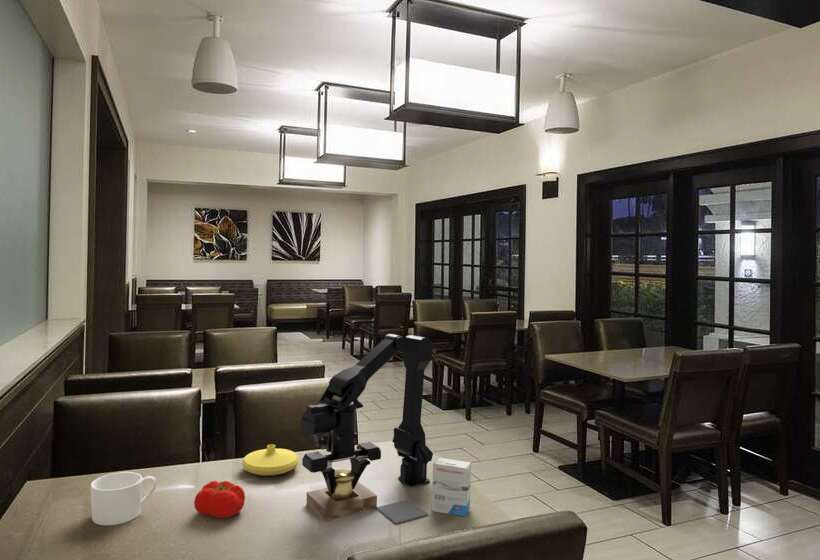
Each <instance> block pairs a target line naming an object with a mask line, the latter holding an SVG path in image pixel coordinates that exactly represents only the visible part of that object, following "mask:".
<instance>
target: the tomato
mask: <svg viewBox="0 0 820 560" xmlns="http://www.w3.org/2000/svg"><path fill="white" fill-rule="evenodd" d="M245 500H246V492H245V491H244V489H243V487H241V486H240V485H238V484H237V483H232V482H231V481H228V480H224V481H220V482H219V481H217V480H211V481H209V482H207V483H206V484H205V485H203V486H202V488H201V490H200V491H198V492H197V494H196V495H195V496H194V502H193V505H194V509H195V510H196V512H197V513H198V514H200V515H203V516H206V517H207V516H208V517H215V518H218V519H227V518H230V517H233V516H235V515H238V514H239V513H240V511H242V509H243V507H244V505H245Z"/></svg>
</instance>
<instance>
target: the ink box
mask: <svg viewBox="0 0 820 560" xmlns="http://www.w3.org/2000/svg"><path fill="white" fill-rule="evenodd" d="M432 467H433V468H432V490H431V498H432V499H431V511H432V512H435V513H441V514H442V513H443V514H446V515H447V514H448V515H451V516H452V515H453V516H458V517H464V518H465V517H467V516H468V514H469V511H470V508H471V507H470V505H471V482H472V481H471V479H472V462H470V461H462V460H455V459H451V458H443V457H438V458H437V459H436V460H435V461H434V462H433V463H432Z"/></svg>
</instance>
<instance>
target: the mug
mask: <svg viewBox="0 0 820 560" xmlns="http://www.w3.org/2000/svg"><path fill="white" fill-rule="evenodd" d="M146 481H152V486H151V489H150V490H149V491H148V492H147V493H146V494H145V495H144V496H143V483H144V482H146ZM156 487H157V480H156V477H154V476H152V475H147V476H144V477H143V476H142V475H141V474H140V473H137V472H131V471H121V472H114V473H113V472H112V473H108V474H105V475H103V476H99V477H98V478H95V479H94V480H93V481H92V482H91V484H90V501H91V503H90V504H91V520H92V522H93V523H94V524H96V525H98V526H116V525H121V524H125V523H128V522H130V521H133V520H134V519H136V518H137V517H138V516H139V515H140V514H141V512H142V511H141V510H142V504H143V503H144V502H145V501H146V500H147V499H148V498H149V497H150V496H151V495H152V494H153V493H154V491H155V489H156ZM142 496H143V497H142Z"/></svg>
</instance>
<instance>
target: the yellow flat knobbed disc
mask: <svg viewBox="0 0 820 560" xmlns="http://www.w3.org/2000/svg"><path fill="white" fill-rule="evenodd" d="M299 462H300V456H299V455H298V454H297V453H296V452H294V451H293V450H290V449H285V448H276V444H268V445H267V446H266V448H264V449H259V450H254V451H252V452H250V453H248V454H246V455H245V456H244V457H243V459H242V460H241V465H242V467H243V469H244V470H245V471H246V472H249V474H254V475H257V476H262V477H272V476H279V475H283V474H285V473H287V472H290V471H292V470H294V469H295V468H297V467H298V465H299Z"/></svg>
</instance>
